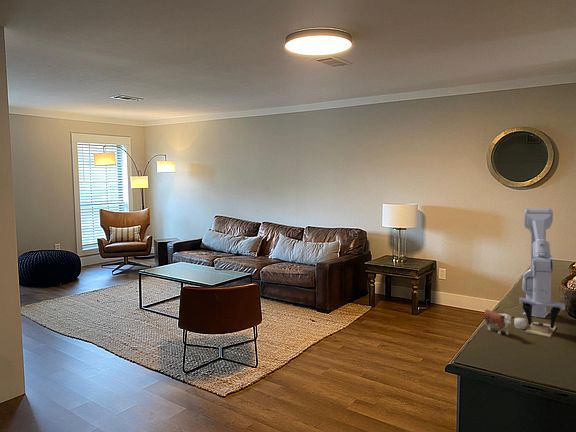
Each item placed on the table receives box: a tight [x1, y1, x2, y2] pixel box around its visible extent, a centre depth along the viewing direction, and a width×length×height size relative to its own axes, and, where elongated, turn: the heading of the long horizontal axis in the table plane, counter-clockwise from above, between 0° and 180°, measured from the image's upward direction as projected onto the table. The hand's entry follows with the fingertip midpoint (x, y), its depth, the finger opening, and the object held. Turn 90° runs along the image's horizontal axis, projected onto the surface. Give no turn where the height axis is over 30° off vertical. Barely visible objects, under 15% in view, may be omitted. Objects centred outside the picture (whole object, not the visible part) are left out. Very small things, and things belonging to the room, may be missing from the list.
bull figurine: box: [483, 309, 515, 336], centre depth 160 cm, size 4×13×8 cm, turn 15°
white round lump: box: [513, 317, 529, 330], centre depth 166 cm, size 4×4×3 cm
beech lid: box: [530, 321, 551, 332], centre depth 162 cm, size 6×6×2 cm
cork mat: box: [524, 321, 558, 339], centre depth 162 cm, size 14×8×1 cm, turn 140°
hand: (541, 325), depth 162 cm, fingers open, 7 cm apart
